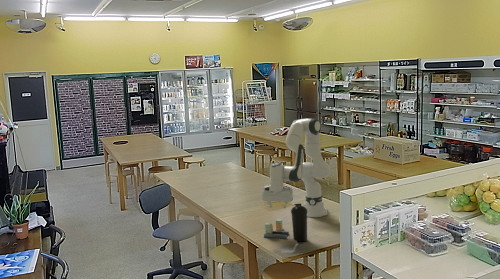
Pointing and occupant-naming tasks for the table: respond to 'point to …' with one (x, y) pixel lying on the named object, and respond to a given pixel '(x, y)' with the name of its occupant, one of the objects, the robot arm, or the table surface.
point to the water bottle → (299, 223)
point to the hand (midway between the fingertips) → (277, 207)
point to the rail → (277, 235)
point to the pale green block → (279, 225)
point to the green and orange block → (268, 228)
